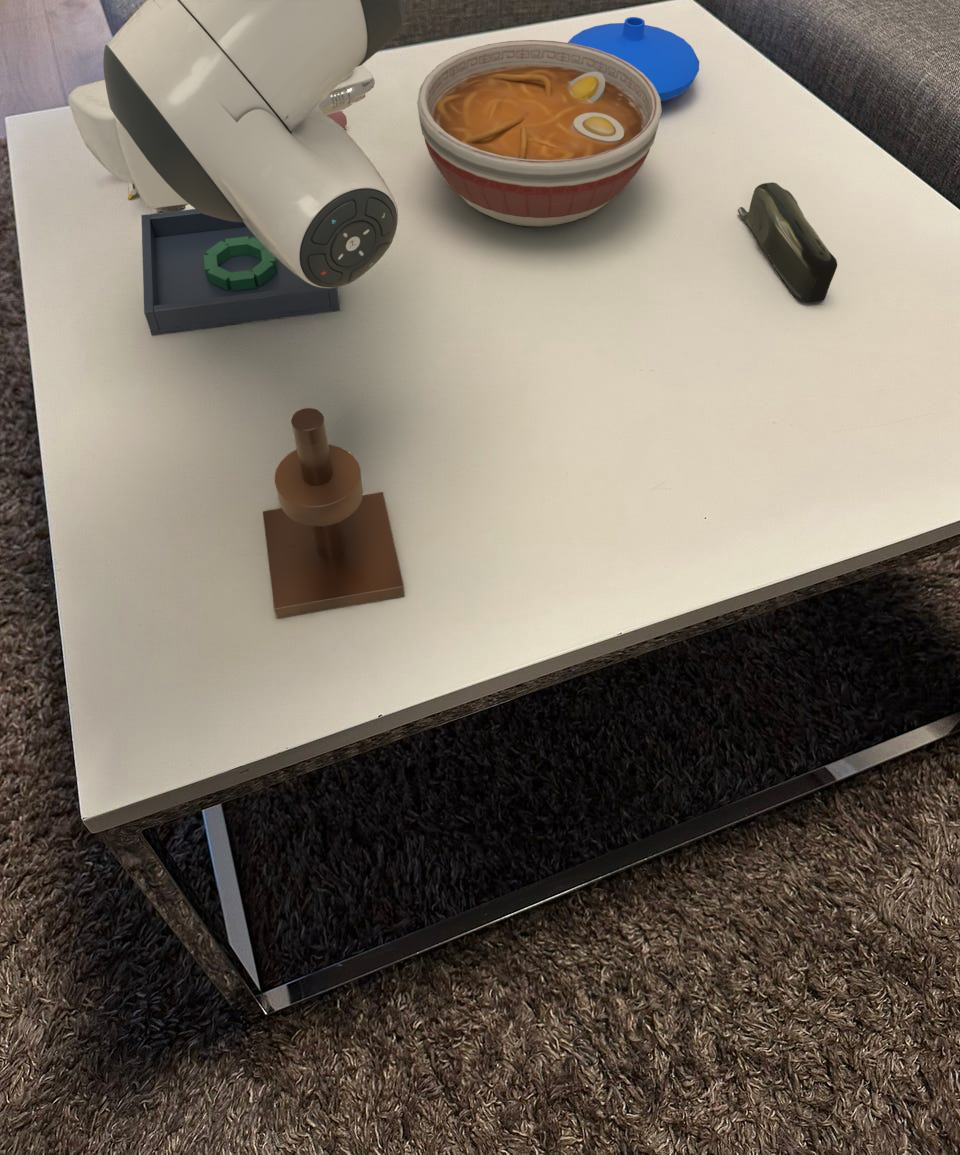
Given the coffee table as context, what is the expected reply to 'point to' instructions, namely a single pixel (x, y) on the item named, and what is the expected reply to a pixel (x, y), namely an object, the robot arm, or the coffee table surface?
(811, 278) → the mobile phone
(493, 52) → the bowl
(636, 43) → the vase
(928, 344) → the coffee table surface
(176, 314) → the tray
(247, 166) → the robot arm
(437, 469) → the coffee table surface
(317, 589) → the peg stand
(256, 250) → the ring
